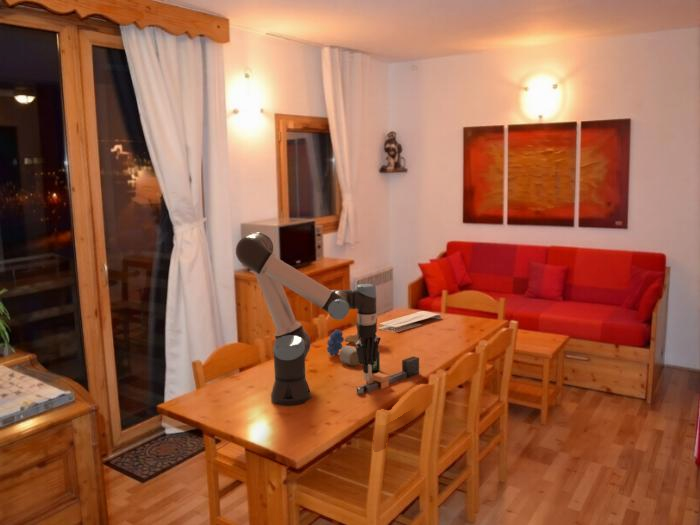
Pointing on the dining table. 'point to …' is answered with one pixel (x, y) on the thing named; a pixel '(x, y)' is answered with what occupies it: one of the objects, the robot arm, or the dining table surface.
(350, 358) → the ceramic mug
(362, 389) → the upper tong arm
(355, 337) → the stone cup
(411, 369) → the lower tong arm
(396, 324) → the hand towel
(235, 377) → the dining table surface
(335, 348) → the grapes
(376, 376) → the lock collar
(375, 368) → the supplement bottle
